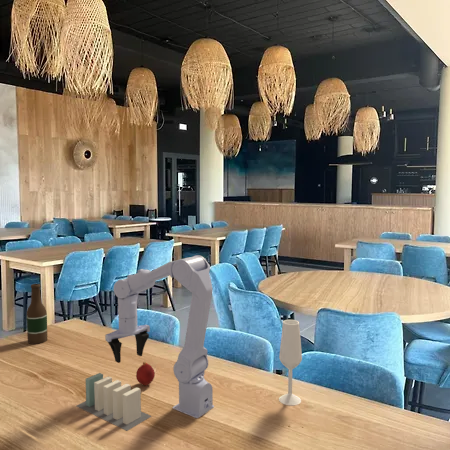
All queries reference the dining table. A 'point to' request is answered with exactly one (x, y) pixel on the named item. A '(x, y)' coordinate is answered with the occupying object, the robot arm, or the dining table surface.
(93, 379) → the domino
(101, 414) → the runner mat
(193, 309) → the robot arm
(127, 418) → the domino
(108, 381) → the domino
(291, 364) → the champagne flute
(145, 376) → the onion
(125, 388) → the domino
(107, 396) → the domino
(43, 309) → the beer bottle
